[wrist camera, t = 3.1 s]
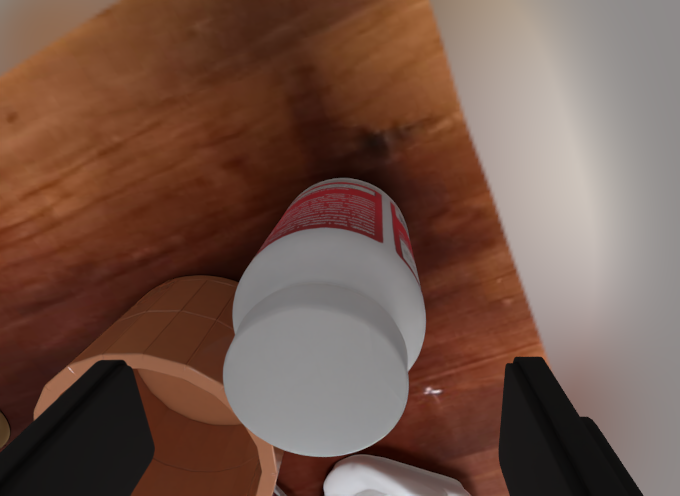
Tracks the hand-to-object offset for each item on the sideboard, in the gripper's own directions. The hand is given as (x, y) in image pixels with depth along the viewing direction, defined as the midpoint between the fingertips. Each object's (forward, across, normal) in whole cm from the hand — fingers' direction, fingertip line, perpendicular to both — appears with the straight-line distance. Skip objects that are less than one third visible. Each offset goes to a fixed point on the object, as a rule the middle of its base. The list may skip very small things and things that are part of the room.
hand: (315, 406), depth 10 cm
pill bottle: (+11, 0, -1) cm, 11 cm away
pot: (+11, +8, +6) cm, 15 cm away
